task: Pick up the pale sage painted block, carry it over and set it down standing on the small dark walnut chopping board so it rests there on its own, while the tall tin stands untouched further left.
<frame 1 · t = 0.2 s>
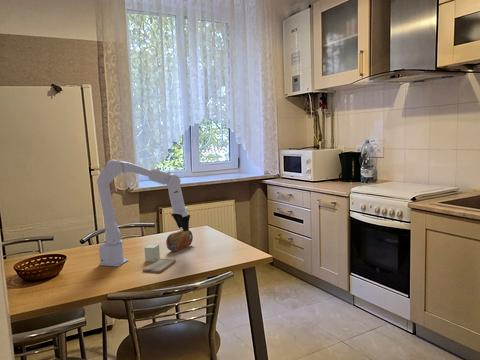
hand: (183, 229, 174), 11 cm above the table, tool pointing down, fingers open, 7 cm apart
tin: (180, 249, 180), on the table
block: (152, 259, 167), on the table
board: (159, 267, 158), on the table
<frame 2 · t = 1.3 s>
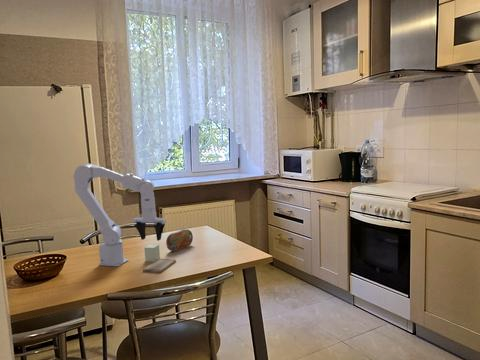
hand: (151, 239, 165), 9 cm above the table, tool pointing down, fingers open, 7 cm apart
nothing on the table moved.
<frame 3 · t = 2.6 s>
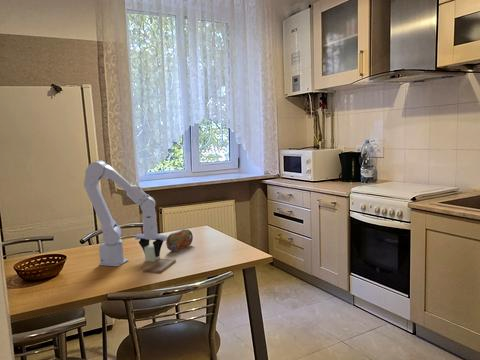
hand: (152, 255, 166), 2 cm above the table, tool pointing down, fingers closed on block, 4 cm apart
block: (152, 259, 167), on the table, touching gripper
everything else where it was.
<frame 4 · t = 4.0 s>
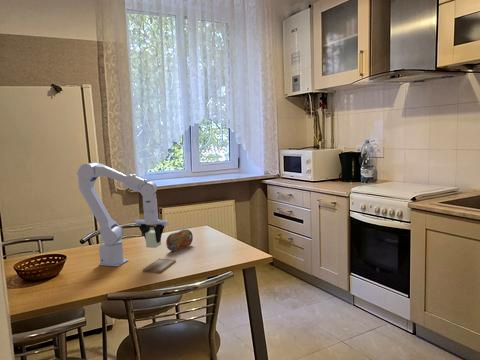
hand: (153, 241, 163), 9 cm above the table, tool pointing down, fingers closed on block, 4 cm apart
block: (153, 245, 163), point 7 cm above the table, touching gripper
everything else where it was.
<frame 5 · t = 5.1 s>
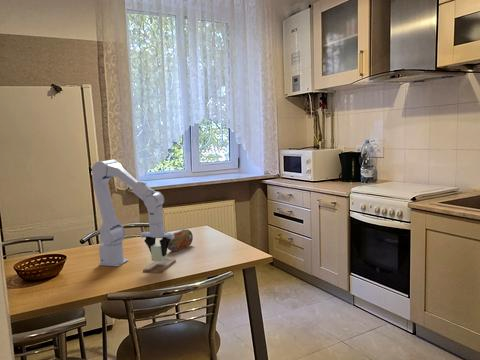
hand: (159, 255, 157), 5 cm above the table, tool pointing down, fingers closed on block, 4 cm apart
block: (159, 259, 157), point 3 cm above the table, touching gripper
everything else where it was.
when the fingers open (4 cm above the table, at t = 5.7 s): block drops 2 cm, resting on board.
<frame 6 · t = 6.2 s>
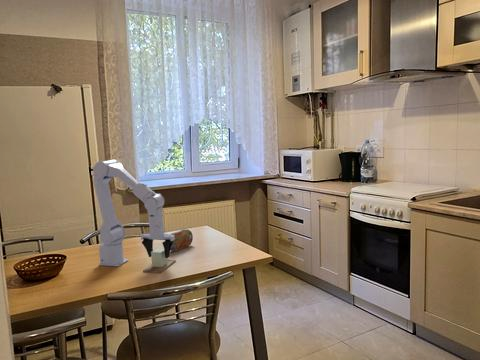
hand: (159, 256, 157), 4 cm above the table, tool pointing down, fingers open, 7 cm apart
block: (159, 264, 158), point 1 cm above the table, touching board
board: (160, 268, 158), on the table, touching block
everything else where it was.
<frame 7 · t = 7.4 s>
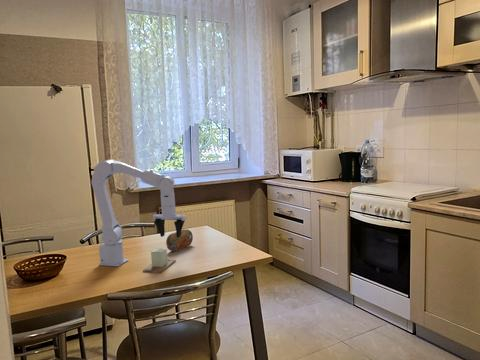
hand: (170, 236, 163), 10 cm above the table, tool pointing down, fingers open, 7 cm apart
block: (159, 264, 158), point 1 cm above the table
board: (159, 268, 158), on the table
everything else where it was.
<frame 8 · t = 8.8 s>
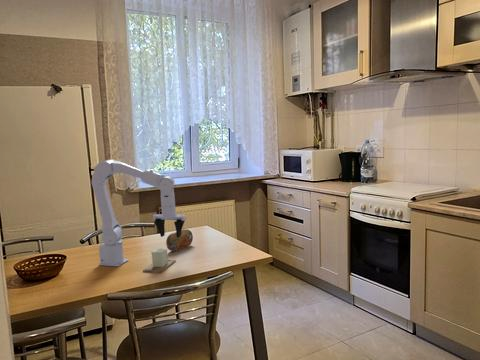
hand: (170, 236, 163), 10 cm above the table, tool pointing down, fingers open, 7 cm apart
block: (160, 264, 157), point 1 cm above the table, touching board
board: (160, 268, 158), on the table, touching block
everything else where it was.
at the end: block inside the target area on the board (0.4 cm from its centre), point 1.5 cm above the board's base; block tilted 1°; the gripper is holding nothing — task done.
